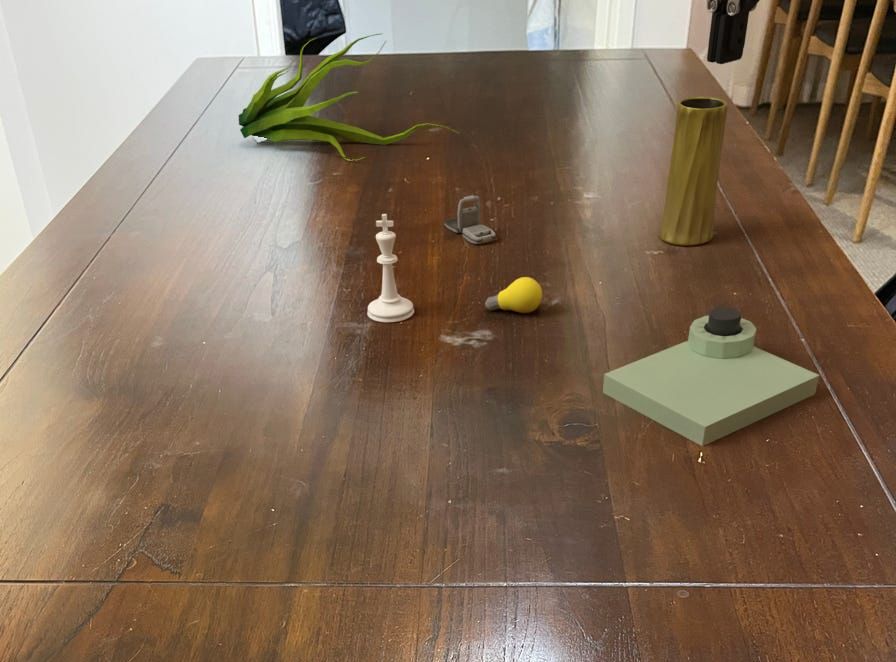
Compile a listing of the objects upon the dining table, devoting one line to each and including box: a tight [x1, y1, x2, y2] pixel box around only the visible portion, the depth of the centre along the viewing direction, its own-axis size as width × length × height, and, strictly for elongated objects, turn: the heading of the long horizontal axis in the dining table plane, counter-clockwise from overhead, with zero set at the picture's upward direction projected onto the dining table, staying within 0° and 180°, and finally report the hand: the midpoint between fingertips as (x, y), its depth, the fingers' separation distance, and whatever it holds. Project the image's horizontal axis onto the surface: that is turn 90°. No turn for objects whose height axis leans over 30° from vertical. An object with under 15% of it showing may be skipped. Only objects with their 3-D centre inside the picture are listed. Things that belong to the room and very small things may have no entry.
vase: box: [658, 95, 729, 247], centre depth 113 cm, size 6×6×14 cm
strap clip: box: [443, 194, 497, 245], centre depth 120 cm, size 8×3×4 cm, turn 27°
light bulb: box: [484, 276, 543, 314], centre depth 104 cm, size 3×6×4 cm, turn 84°
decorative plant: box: [238, 33, 460, 162], centre depth 146 cm, size 18×30×15 cm, turn 49°
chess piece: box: [366, 213, 415, 323], centre depth 102 cm, size 5×5×10 cm
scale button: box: [707, 306, 743, 336], centre depth 91 cm, size 3×3×2 cm
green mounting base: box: [602, 315, 820, 447], centre depth 88 cm, size 15×12×4 cm
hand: (724, 60), depth 96 cm, fingers closed
